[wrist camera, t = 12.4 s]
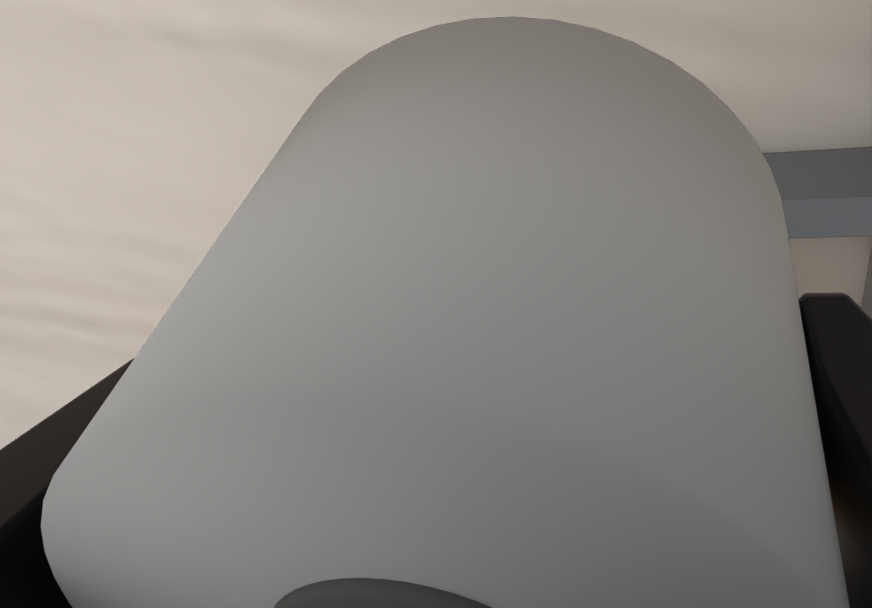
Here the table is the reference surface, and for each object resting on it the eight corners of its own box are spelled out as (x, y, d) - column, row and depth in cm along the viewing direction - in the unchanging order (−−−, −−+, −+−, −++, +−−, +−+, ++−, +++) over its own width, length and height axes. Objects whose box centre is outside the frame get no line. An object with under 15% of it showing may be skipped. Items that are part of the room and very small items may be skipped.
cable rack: (880, 456, 25) (896, 518, 23) (452, 440, 28) (438, 492, 27) (1073, -425, 12) (1135, -426, 11) (271, -249, 16) (225, -231, 14)
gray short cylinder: (772, 437, 11) (821, 898, 7) (348, 424, 13) (208, 786, 9) (809, -20, 7) (953, 427, 3) (203, 50, 9) (-145, 398, 5)
